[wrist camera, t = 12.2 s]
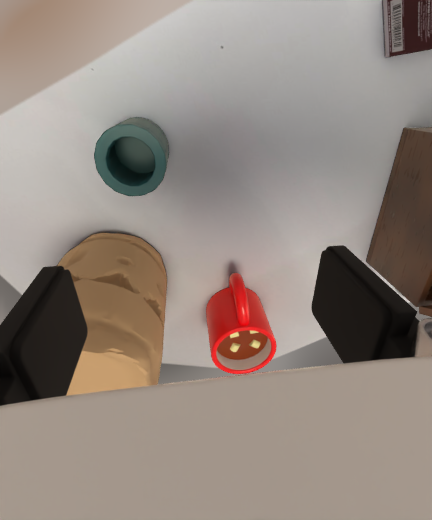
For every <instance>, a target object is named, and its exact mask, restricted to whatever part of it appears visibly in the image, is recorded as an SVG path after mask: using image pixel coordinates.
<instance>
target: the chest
mask: <svg viewBox="0 0 432 520" xmlns="http://www.w3.org/2000/svg"><path fill="white" fill-rule="evenodd" d="M366 262H367V263H368V264H369V265H371V266H372V267H373V268H374V269H375V270H376V271H377V272H378V273H379V274H380V275H382V276H383V277H384V278H385V279H386V280H387V281H388V282H389V283H390V284H391V285H393V286H394V287H395V288H396V289H397V290H398V291H399V292H400V293H401V294H402V295H403V296H405V297H406V298H407V299H408V300H409V301H410V302H411V303H412V304H413V305H415V306H416V307H419V306H428V305H432V127H421V128H404V129H403V133H402V136H401V140H400V143H399V147H398V150H397V154H396V157H395V161H394V164H393V168H392V171H391V175H390V179H389V182H388V186H387V189H386V193H385V196H384V200H383V203H382V207H381V210H380V214H379V217H378V221H377V224H376V228H375V231H374V235H373V238H372V242H371V245H370V249H369V252H368V256H367V260H366Z"/></svg>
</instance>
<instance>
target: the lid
mask: <svg viewBox="0 0 432 520" xmlns="http://www.w3.org/2000/svg"><path fill="white" fill-rule="evenodd" d="M419 313H420V314H423V315H427V316H430V317H432V305H428V306H419Z"/></svg>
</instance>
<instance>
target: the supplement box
mask: <svg viewBox="0 0 432 520" xmlns="http://www.w3.org/2000/svg"><path fill="white" fill-rule="evenodd" d="M383 13H384V40H385V57H392V56H397V55H402V54H408V53H413V52H419V51H425V50H430V49H432V0H383Z"/></svg>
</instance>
